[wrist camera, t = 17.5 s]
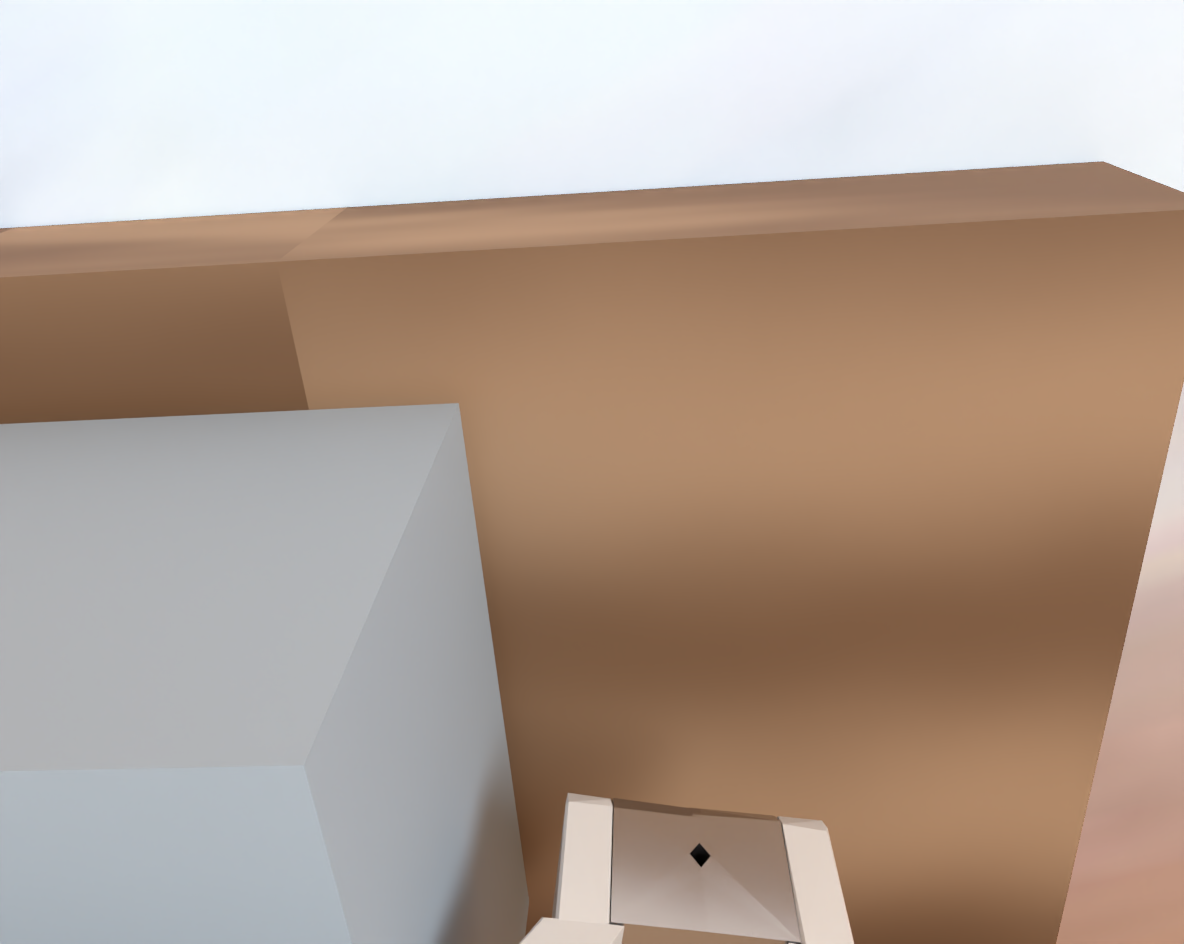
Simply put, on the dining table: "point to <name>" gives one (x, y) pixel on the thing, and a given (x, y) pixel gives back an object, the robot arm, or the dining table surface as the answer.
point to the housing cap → (250, 685)
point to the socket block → (726, 478)
